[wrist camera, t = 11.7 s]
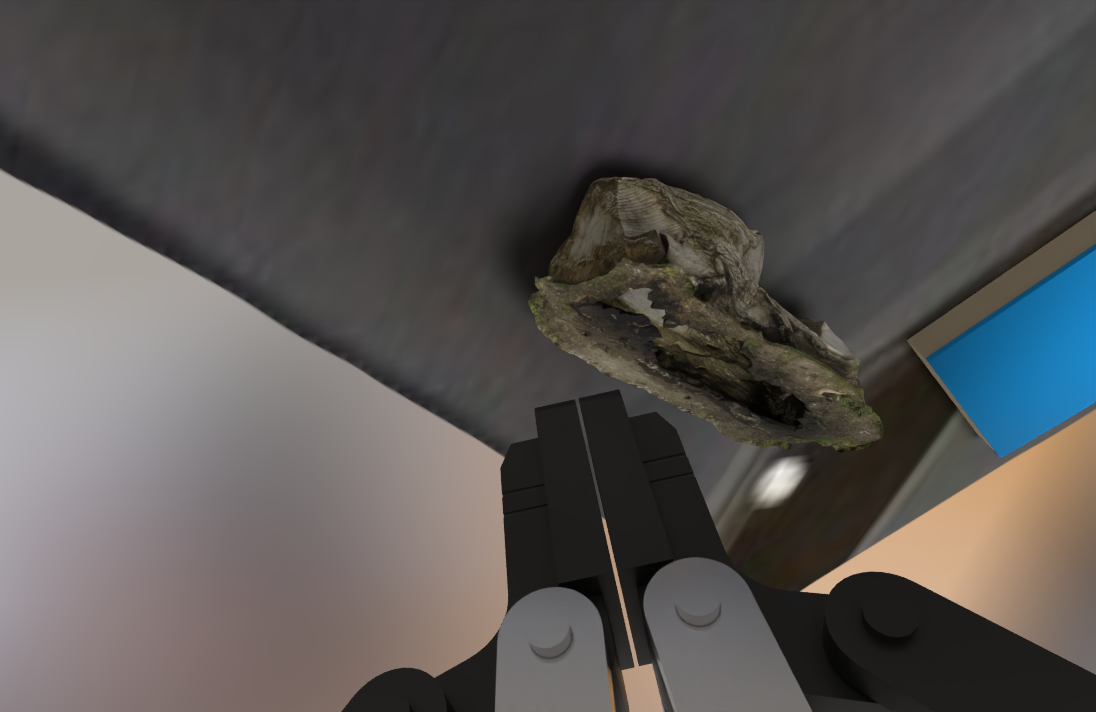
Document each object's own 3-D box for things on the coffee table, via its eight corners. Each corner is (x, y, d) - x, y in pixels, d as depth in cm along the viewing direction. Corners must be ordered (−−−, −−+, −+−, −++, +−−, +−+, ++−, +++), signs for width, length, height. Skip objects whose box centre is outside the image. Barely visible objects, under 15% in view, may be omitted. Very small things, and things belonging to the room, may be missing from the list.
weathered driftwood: (784, 341, 61) (956, 329, 48) (744, 469, 57) (919, 491, 45) (561, 155, 48) (717, 73, 35) (491, 304, 44) (636, 271, 32)
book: (925, 363, 53) (1259, 141, 45) (897, 334, 57) (1202, 123, 48) (1003, 462, 61) (1299, 290, 53) (974, 432, 65) (1247, 266, 56)
